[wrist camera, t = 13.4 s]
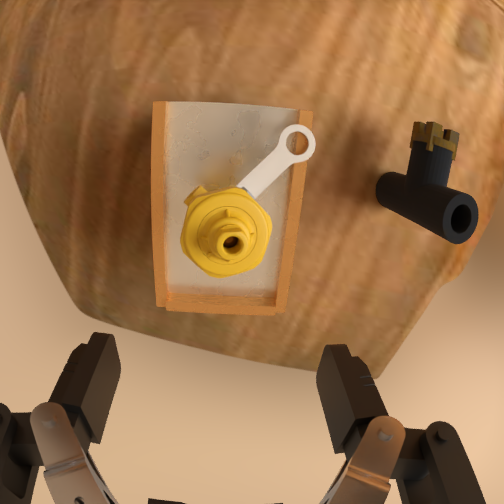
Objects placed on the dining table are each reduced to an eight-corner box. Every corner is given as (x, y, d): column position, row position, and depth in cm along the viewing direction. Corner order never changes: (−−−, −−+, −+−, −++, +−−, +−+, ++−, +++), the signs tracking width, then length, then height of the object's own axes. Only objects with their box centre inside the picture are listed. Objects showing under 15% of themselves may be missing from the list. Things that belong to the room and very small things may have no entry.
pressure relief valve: (168, 210, 25) (159, 244, 16) (275, 108, 24) (326, 85, 15) (216, 255, 27) (234, 311, 18) (317, 157, 26) (384, 163, 17)
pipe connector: (388, 120, 36) (461, 120, 22) (419, 132, 37) (495, 138, 23) (371, 204, 40) (435, 239, 26) (403, 211, 41) (471, 247, 26)
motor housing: (181, 103, 34) (151, 101, 21) (284, 110, 35) (314, 111, 22) (177, 244, 41) (155, 309, 28) (269, 249, 42) (285, 315, 29)
